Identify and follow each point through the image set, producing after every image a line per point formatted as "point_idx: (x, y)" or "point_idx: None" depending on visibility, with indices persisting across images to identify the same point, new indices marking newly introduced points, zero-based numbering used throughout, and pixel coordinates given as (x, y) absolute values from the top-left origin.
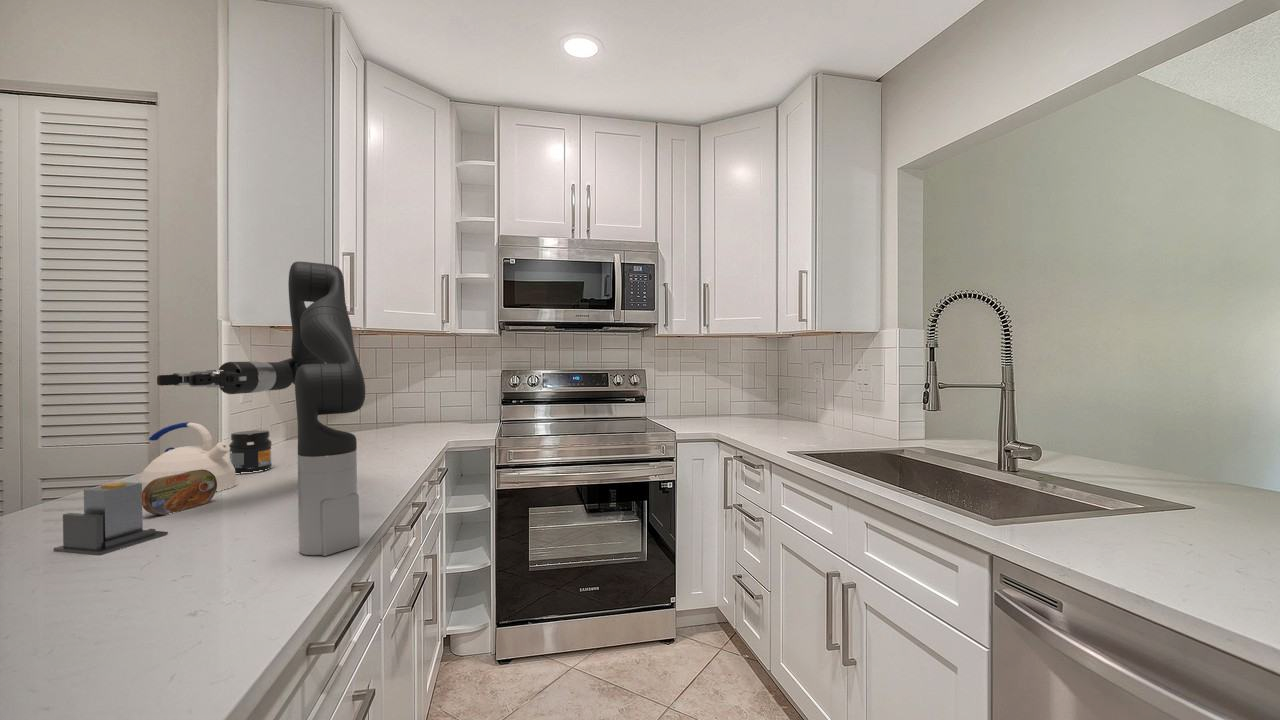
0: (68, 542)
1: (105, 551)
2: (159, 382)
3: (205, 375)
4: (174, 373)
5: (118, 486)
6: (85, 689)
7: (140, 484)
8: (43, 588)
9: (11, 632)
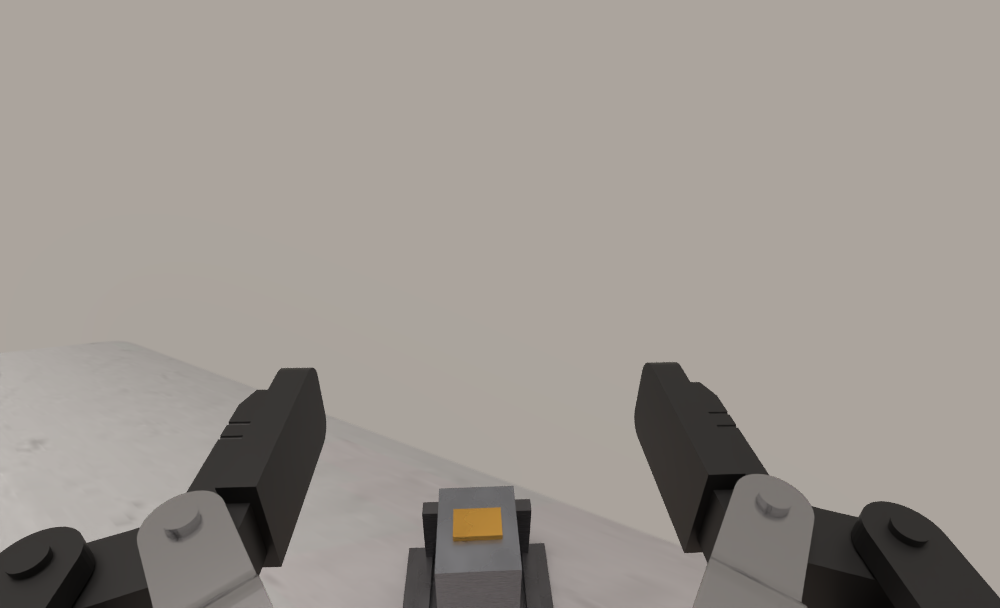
0: None
1: (408, 559)
2: (639, 404)
3: (235, 456)
4: (900, 515)
5: (452, 523)
6: (77, 356)
7: (435, 571)
8: (342, 447)
9: (248, 386)
